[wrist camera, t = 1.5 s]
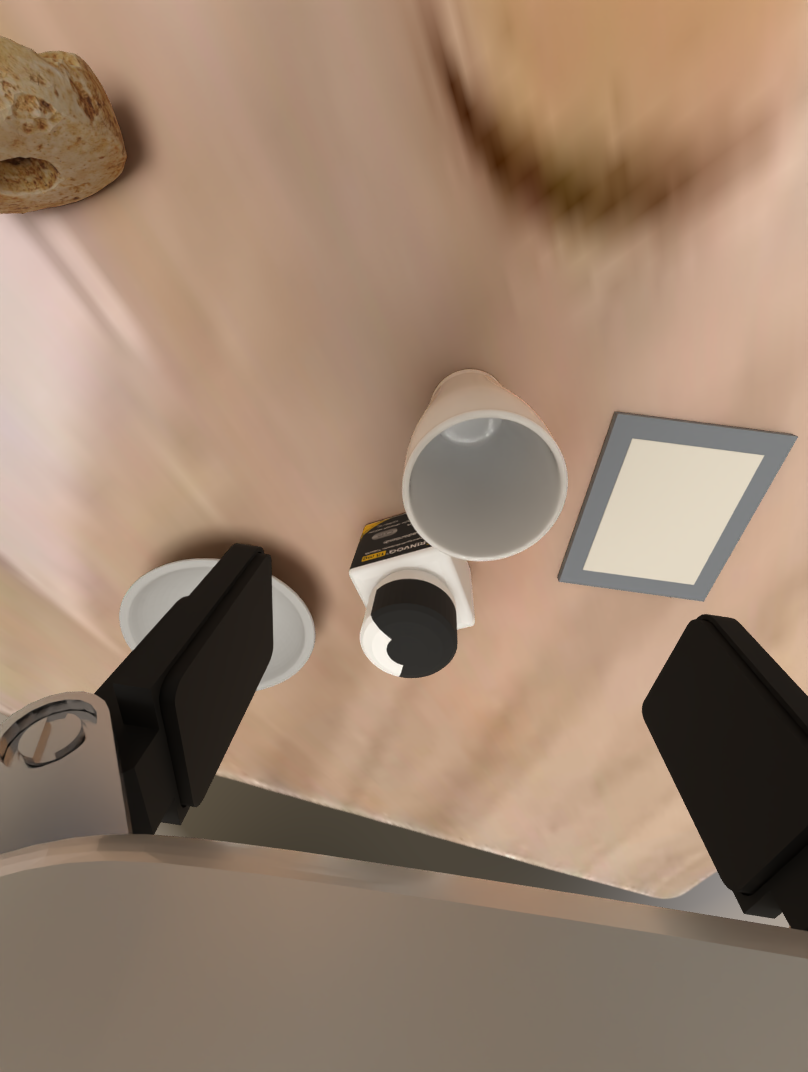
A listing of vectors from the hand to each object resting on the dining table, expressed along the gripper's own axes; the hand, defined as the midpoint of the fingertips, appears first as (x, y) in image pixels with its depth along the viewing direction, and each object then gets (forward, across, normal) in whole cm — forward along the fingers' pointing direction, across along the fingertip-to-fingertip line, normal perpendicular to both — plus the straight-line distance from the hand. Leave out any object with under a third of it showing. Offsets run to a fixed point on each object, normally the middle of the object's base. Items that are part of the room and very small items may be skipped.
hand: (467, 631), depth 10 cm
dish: (+24, +16, +20) cm, 36 cm away
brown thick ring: (+24, +24, -11) cm, 35 cm away
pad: (+24, -17, +5) cm, 30 cm away
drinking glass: (+24, -1, 0) cm, 24 cm away
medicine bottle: (+24, +1, +12) cm, 27 cm away
